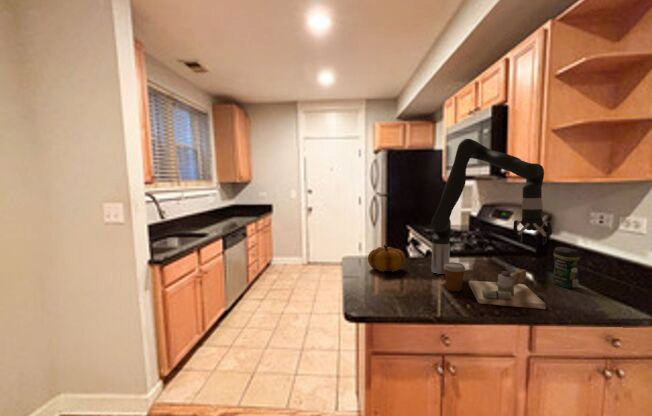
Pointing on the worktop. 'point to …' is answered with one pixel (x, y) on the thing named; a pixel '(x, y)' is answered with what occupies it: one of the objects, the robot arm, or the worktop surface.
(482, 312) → the worktop surface
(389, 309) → the worktop surface
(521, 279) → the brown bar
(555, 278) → the coffee jar
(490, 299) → the level stand
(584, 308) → the worktop surface
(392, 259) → the decorative pumpkin
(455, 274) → the disposable coffee cup
